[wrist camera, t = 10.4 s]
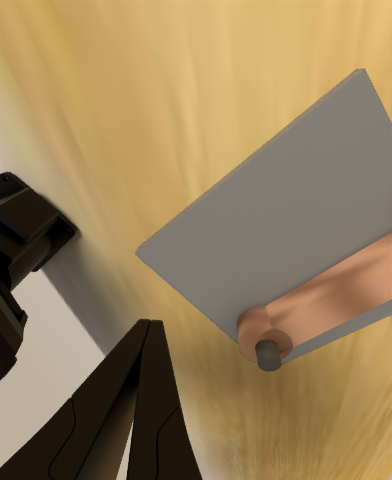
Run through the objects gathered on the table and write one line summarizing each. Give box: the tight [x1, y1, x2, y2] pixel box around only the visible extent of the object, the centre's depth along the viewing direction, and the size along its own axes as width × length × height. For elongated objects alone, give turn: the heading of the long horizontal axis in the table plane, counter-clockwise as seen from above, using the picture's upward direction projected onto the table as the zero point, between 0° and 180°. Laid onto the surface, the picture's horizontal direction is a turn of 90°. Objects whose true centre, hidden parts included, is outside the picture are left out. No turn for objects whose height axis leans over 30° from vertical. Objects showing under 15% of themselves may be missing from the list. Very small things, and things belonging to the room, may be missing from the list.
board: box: [135, 68, 392, 364], centre depth 22 cm, size 19×19×1 cm
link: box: [237, 232, 392, 371], centre depth 20 cm, size 18×4×4 cm, turn 133°
